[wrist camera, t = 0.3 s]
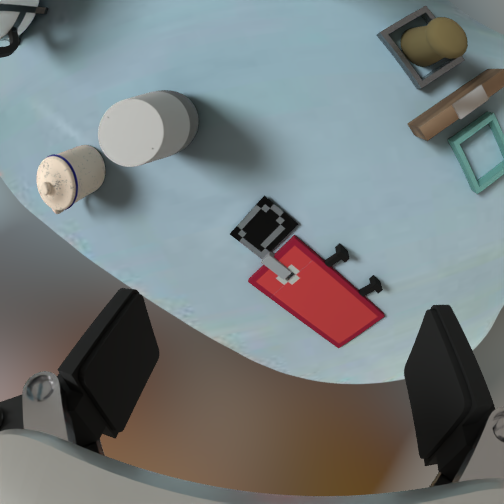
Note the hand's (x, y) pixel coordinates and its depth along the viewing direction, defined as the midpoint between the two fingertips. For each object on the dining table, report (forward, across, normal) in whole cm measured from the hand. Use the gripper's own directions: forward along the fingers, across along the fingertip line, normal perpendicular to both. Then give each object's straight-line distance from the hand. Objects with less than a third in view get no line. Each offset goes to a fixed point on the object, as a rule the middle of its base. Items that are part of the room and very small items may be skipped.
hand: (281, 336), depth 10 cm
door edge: (+36, -23, -9) cm, 44 cm away
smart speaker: (+36, +18, -5) cm, 41 cm away
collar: (+36, -29, -2) cm, 46 cm away
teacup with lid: (+36, +37, +3) cm, 52 cm away
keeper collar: (+36, -17, -16) cm, 43 cm away
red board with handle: (+37, -3, +21) cm, 42 cm away
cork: (+36, -17, -16) cm, 44 cm away
